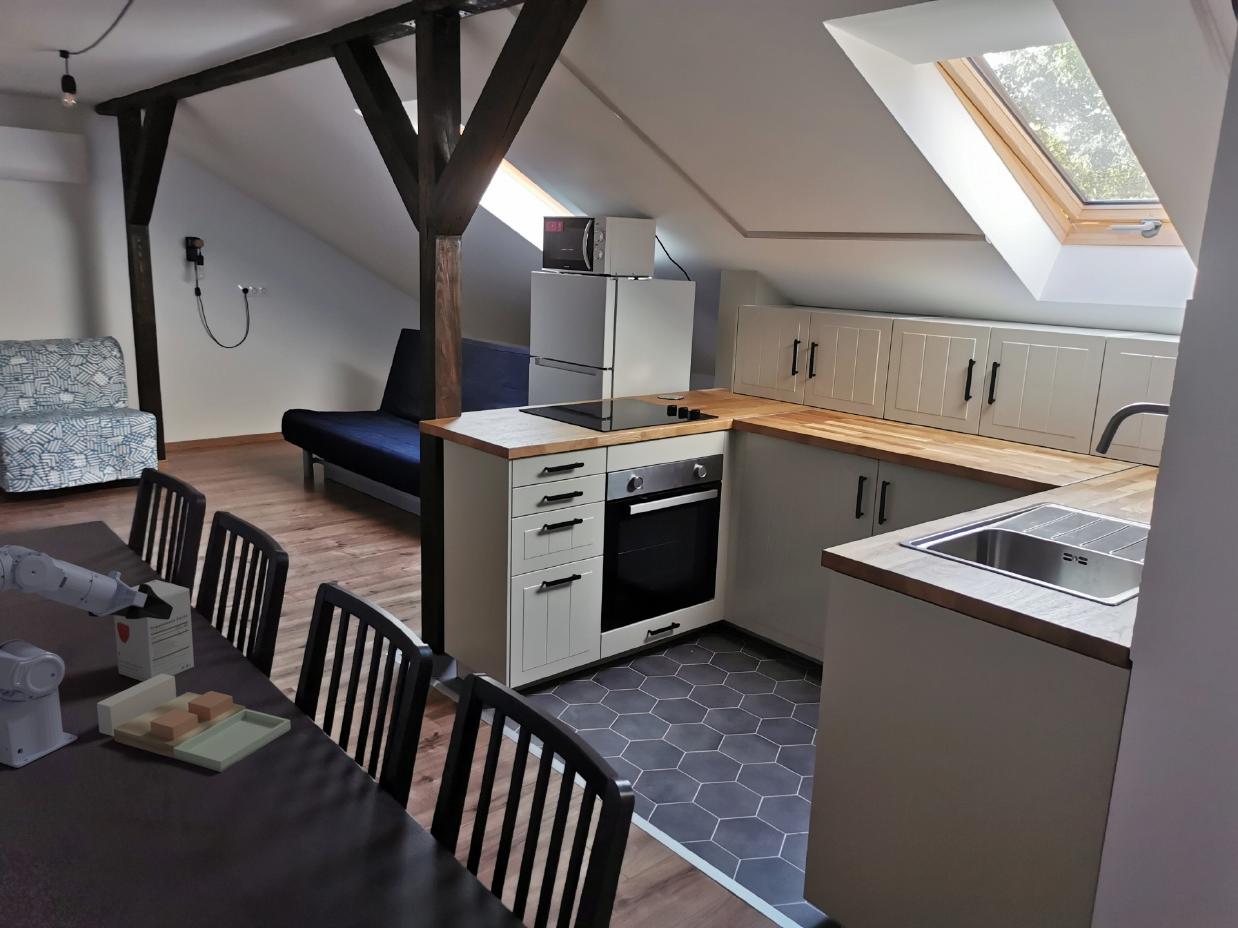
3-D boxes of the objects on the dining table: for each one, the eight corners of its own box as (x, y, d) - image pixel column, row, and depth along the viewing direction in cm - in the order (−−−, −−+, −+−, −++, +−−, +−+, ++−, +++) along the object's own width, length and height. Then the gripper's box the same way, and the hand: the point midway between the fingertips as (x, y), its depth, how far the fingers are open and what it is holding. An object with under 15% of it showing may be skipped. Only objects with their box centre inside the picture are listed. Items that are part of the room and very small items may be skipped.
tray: (221, 771, 134) (220, 761, 133) (174, 758, 137) (173, 748, 137) (290, 729, 146) (290, 719, 146) (245, 717, 150) (245, 708, 149)
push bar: (112, 737, 143) (110, 706, 142) (99, 733, 144) (96, 702, 143) (176, 704, 154) (174, 676, 153) (164, 701, 155) (161, 673, 154)
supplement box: (116, 674, 164) (109, 592, 161) (162, 656, 172) (156, 578, 169) (150, 685, 160) (144, 602, 157) (196, 667, 168) (190, 587, 165)
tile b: (210, 719, 145) (210, 707, 144) (188, 714, 146) (188, 702, 146) (233, 707, 149) (232, 696, 148) (211, 702, 150) (210, 690, 150)
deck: (174, 758, 137) (173, 745, 137) (114, 740, 141) (113, 728, 141) (245, 717, 150) (245, 706, 149) (189, 703, 154) (188, 691, 154)
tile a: (173, 739, 138) (172, 727, 138) (151, 733, 140) (150, 721, 139) (198, 726, 142) (197, 714, 142) (175, 720, 144) (174, 708, 144)
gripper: (119, 562, 140) (192, 589, 151) (59, 561, 147) (133, 587, 158) (101, 608, 137) (177, 632, 148) (42, 605, 144) (118, 628, 155)
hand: (154, 612), depth 153 cm, fingers open, 7 cm apart
